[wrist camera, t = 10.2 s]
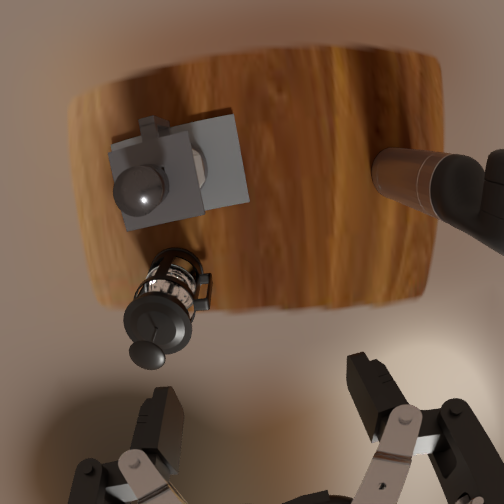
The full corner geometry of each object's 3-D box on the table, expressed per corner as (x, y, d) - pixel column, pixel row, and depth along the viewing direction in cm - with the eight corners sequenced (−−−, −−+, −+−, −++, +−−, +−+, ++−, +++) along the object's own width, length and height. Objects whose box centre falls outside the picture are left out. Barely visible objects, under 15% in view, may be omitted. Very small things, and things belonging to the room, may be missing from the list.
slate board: (233, 114, 43) (233, 114, 42) (249, 200, 48) (249, 201, 47) (113, 144, 43) (110, 144, 42) (132, 225, 48) (129, 226, 47)
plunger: (182, 155, 37) (154, 161, 23) (188, 187, 39) (165, 210, 25) (150, 163, 37) (108, 174, 23) (157, 194, 39) (120, 221, 25)
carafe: (198, 117, 42) (183, 104, 28) (213, 193, 46) (205, 215, 32) (140, 132, 42) (102, 128, 28) (156, 206, 46) (126, 232, 32)
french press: (152, 298, 53) (115, 386, 31) (143, 249, 49) (90, 322, 28) (215, 294, 53) (209, 387, 32) (210, 244, 50) (197, 320, 28)
